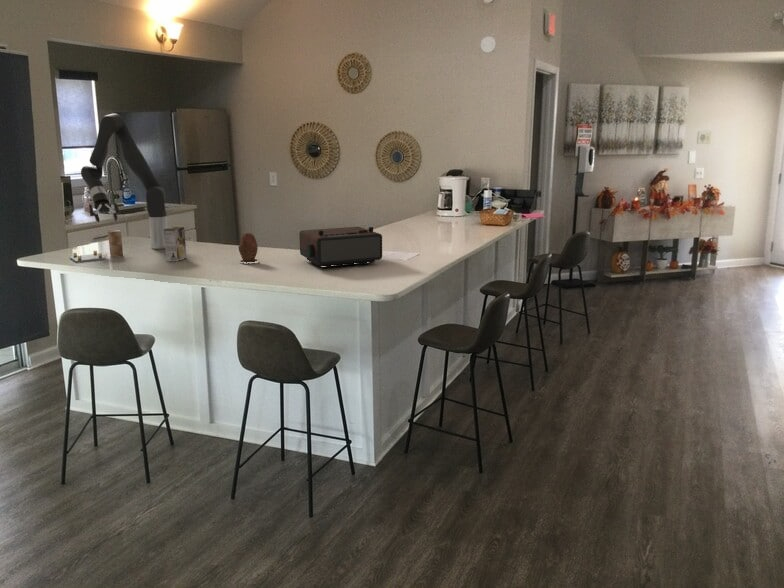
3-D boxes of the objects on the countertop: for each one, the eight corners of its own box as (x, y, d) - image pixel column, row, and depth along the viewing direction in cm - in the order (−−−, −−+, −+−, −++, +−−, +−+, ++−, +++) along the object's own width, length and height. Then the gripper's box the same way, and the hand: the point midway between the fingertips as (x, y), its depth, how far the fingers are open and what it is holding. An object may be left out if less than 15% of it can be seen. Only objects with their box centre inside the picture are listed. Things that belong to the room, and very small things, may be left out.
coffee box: (175, 258, 344) (172, 226, 340) (187, 258, 343) (184, 226, 339) (166, 261, 335) (163, 229, 331) (177, 262, 334) (175, 229, 330)
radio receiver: (313, 272, 311) (312, 233, 306) (295, 262, 334) (294, 225, 330) (382, 265, 326) (382, 228, 321) (360, 256, 349) (360, 221, 345)
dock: (99, 255, 351) (98, 249, 350) (106, 259, 340) (105, 253, 339) (69, 258, 343) (69, 252, 342) (76, 262, 332) (75, 256, 331)
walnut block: (120, 254, 353) (118, 229, 350) (123, 256, 349) (120, 231, 346) (110, 255, 350) (107, 230, 347) (113, 257, 346) (110, 231, 343)
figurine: (239, 262, 336) (239, 231, 334) (260, 262, 337) (259, 232, 335) (237, 264, 327) (236, 233, 325) (258, 264, 328) (257, 233, 326)
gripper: (85, 192, 354) (93, 217, 348) (114, 191, 362) (122, 215, 356) (84, 202, 359) (92, 226, 353) (112, 200, 368) (120, 223, 361)
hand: (107, 220), depth 355 cm, fingers open, 8 cm apart
